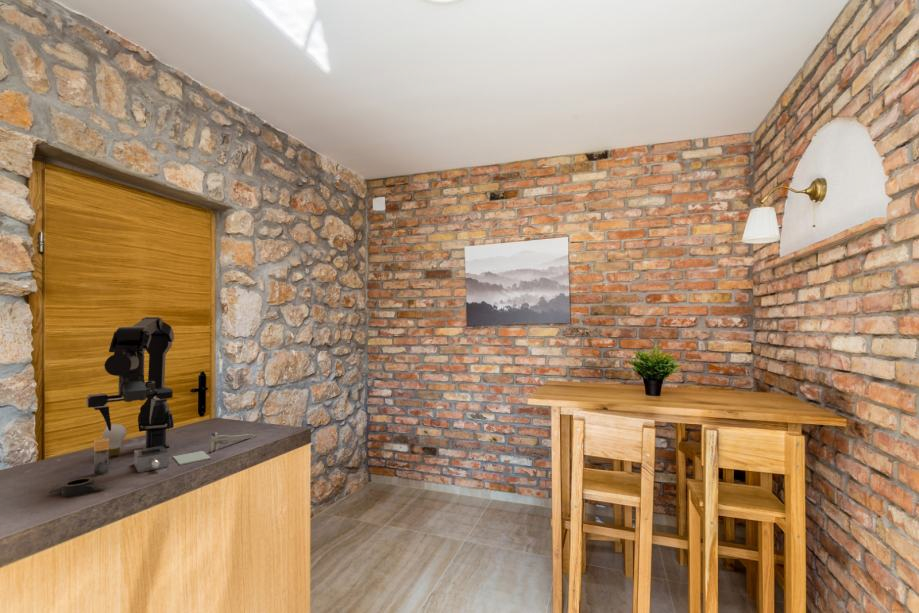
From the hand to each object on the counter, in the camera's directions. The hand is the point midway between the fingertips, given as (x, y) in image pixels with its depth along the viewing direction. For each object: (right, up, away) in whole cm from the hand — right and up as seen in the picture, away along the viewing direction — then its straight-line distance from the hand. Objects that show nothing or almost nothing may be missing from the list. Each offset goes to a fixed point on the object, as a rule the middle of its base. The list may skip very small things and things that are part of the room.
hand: (130, 427), depth 119 cm
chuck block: (+4, -12, +3) cm, 13 cm away
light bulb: (-15, -13, +13) cm, 24 cm away
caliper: (+15, -13, +26) cm, 33 cm away
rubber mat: (+11, -12, +10) cm, 19 cm away
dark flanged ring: (-1, -12, -16) cm, 20 cm away
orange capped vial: (-7, -12, -2) cm, 14 cm away
